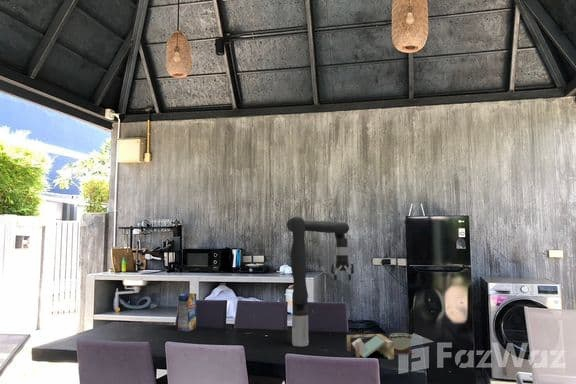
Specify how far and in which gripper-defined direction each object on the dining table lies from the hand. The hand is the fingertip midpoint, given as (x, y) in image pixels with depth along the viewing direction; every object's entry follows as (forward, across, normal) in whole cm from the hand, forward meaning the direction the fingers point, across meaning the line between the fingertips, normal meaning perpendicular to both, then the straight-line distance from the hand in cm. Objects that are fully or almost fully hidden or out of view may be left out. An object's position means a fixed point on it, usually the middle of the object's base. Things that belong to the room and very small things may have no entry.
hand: (342, 280), depth 267 cm
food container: (+36, +23, -33) cm, 54 cm away
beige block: (+34, +2, -35) cm, 49 cm away
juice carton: (+36, -100, +47) cm, 116 cm away
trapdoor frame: (+36, +5, -35) cm, 51 cm away
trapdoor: (+32, +6, -35) cm, 48 cm away
